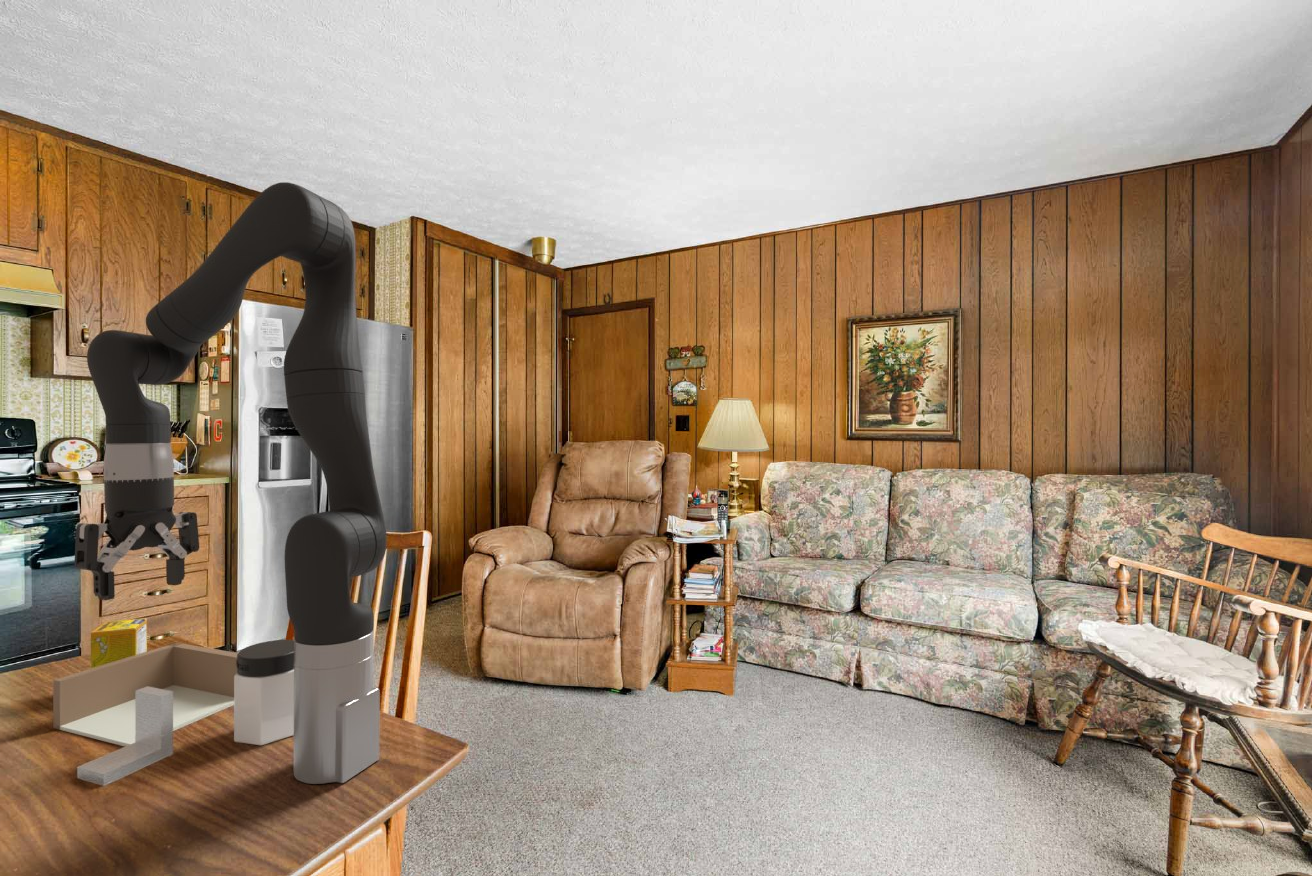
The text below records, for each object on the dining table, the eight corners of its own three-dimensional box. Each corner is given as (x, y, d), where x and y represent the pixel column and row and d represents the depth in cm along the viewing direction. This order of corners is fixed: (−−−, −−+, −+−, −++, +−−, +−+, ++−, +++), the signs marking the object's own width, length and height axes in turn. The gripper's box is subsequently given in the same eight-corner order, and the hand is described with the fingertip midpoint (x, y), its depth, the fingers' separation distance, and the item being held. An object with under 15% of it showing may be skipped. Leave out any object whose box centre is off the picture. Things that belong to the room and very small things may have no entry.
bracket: (147, 748, 85) (147, 686, 85) (173, 754, 83) (173, 691, 83) (77, 778, 78) (77, 711, 77) (103, 786, 76) (103, 717, 76)
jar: (248, 720, 93) (248, 641, 93) (309, 714, 95) (309, 636, 95) (226, 750, 84) (226, 662, 84) (293, 742, 87) (294, 656, 87)
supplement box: (103, 686, 105) (103, 621, 105) (148, 680, 107) (148, 617, 107) (89, 700, 99) (89, 632, 99) (136, 693, 102) (136, 627, 102)
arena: (249, 698, 101) (250, 655, 101) (132, 748, 85) (132, 697, 85) (176, 683, 106) (176, 642, 106) (53, 728, 90) (53, 680, 90)
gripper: (97, 480, 79) (99, 607, 79) (210, 473, 92) (212, 581, 93) (60, 479, 82) (62, 602, 82) (175, 472, 95) (177, 578, 95)
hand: (142, 591), depth 87 cm, fingers open, 8 cm apart
